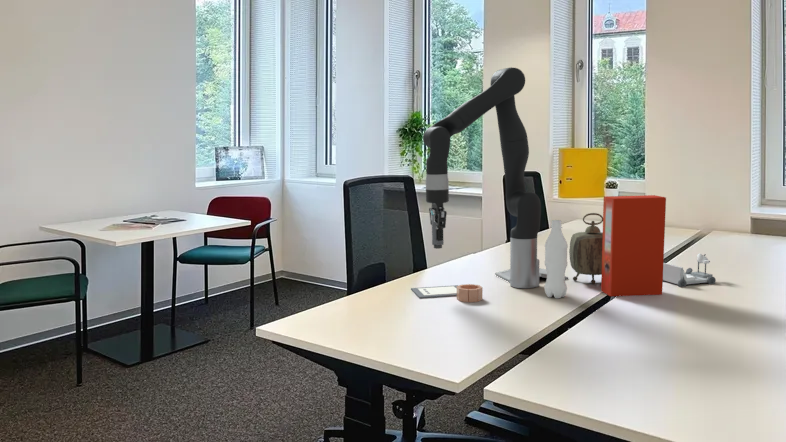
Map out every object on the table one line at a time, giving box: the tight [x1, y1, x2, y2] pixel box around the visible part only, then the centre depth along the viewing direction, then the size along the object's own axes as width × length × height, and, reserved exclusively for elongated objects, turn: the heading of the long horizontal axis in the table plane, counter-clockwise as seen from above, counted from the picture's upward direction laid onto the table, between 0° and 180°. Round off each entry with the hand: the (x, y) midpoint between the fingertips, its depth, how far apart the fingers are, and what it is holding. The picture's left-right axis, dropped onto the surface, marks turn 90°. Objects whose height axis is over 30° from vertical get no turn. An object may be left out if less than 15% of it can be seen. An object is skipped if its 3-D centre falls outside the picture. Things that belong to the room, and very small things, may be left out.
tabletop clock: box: [568, 212, 603, 285], centre depth 221 cm, size 14×9×25 cm, turn 84°
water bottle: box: [543, 219, 569, 299], centre depth 203 cm, size 7×7×25 cm
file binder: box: [600, 194, 667, 298], centre depth 205 cm, size 8×17×32 cm, turn 95°
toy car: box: [663, 253, 717, 288], centre depth 222 cm, size 18×10×12 cm
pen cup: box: [456, 283, 483, 303], centre depth 203 cm, size 8×8×4 cm
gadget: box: [494, 267, 569, 284], centre depth 234 cm, size 22×6×15 cm
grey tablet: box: [410, 284, 459, 299], centre depth 213 cm, size 17×13×1 cm
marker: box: [431, 211, 445, 249], centre depth 208 cm, size 4×4×12 cm
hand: (438, 239), depth 208 cm, fingers closed on marker, 3 cm apart
